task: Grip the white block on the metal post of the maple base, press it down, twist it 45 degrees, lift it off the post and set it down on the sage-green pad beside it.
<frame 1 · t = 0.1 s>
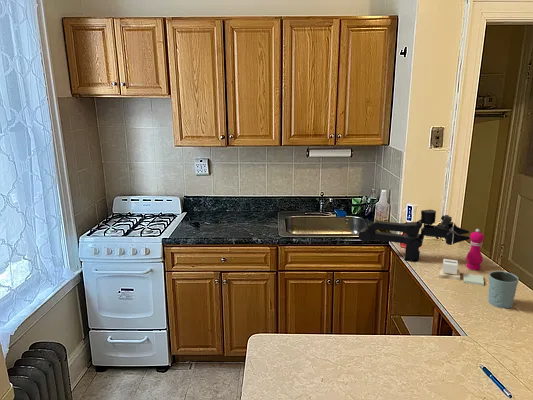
hand: (469, 234, 189), 17 cm above the countertop, tool horizontal, fingers open, 9 cm apart
teal plant pot: (500, 303, 159), on the countertop
pepper mill: (473, 268, 192), on the countertop
pad: (473, 280, 179), on the countertop
post base: (449, 274, 185), on the countertop
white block: (449, 271, 185), point 2 cm above the countertop, touching post base
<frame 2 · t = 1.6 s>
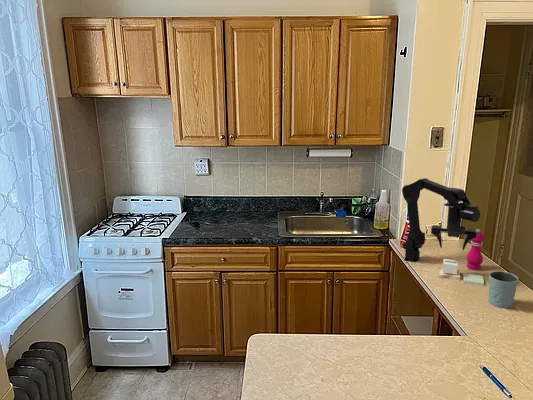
hand: (451, 249, 182), 13 cm above the countertop, tool pointing down, fingers open, 9 cm apart
nothing on the countertop moved.
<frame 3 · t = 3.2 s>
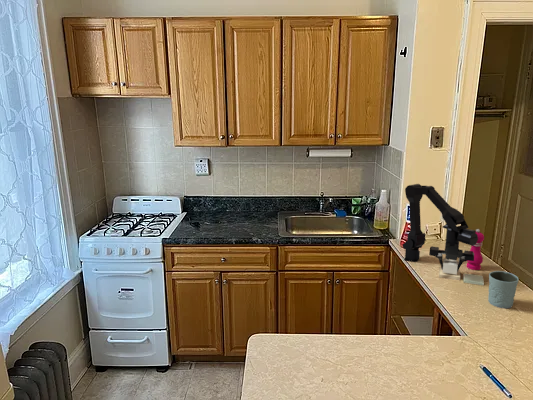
hand: (449, 270, 185), 2 cm above the countertop, tool pointing down, fingers closed on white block, 6 cm apart
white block: (449, 271, 185), point 2 cm above the countertop, touching gripper, post base
everything else where it was.
when the fingers open (2 cm above the countertop, at t = 8.9 s): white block drops 2 cm, resting on pad.
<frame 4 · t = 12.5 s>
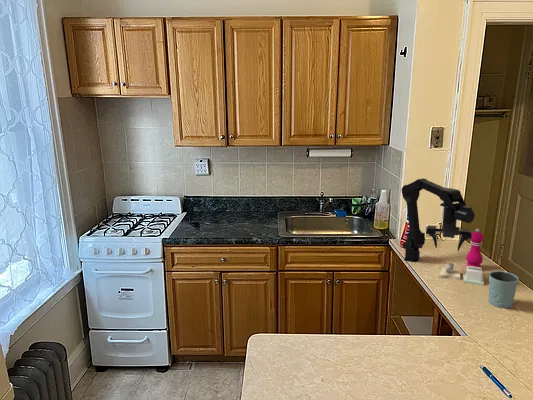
hand: (447, 249, 182), 13 cm above the countertop, tool pointing down, fingers open, 9 cm apart
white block: (473, 278, 179), point 1 cm above the countertop, touching pad
everything else where it was.
at the end: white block inside the target area on the pad (0.0 cm from its centre), point 1.0 cm above the pad's base; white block tilted 0°; the gripper is holding nothing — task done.
